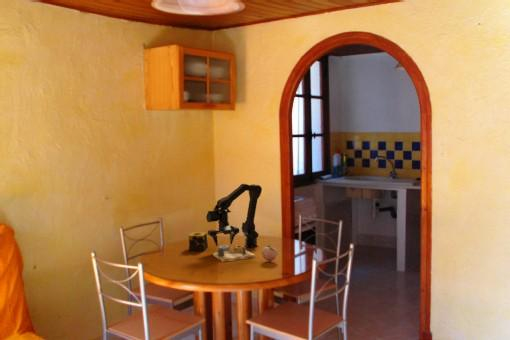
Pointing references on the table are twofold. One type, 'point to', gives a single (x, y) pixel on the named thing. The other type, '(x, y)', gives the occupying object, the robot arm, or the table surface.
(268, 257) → the decorative fruit
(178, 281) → the table surface
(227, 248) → the gear
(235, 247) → the gear
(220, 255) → the gear board
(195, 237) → the tissue box
